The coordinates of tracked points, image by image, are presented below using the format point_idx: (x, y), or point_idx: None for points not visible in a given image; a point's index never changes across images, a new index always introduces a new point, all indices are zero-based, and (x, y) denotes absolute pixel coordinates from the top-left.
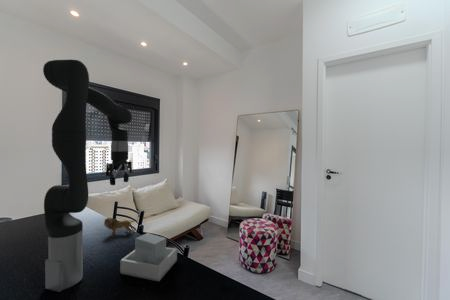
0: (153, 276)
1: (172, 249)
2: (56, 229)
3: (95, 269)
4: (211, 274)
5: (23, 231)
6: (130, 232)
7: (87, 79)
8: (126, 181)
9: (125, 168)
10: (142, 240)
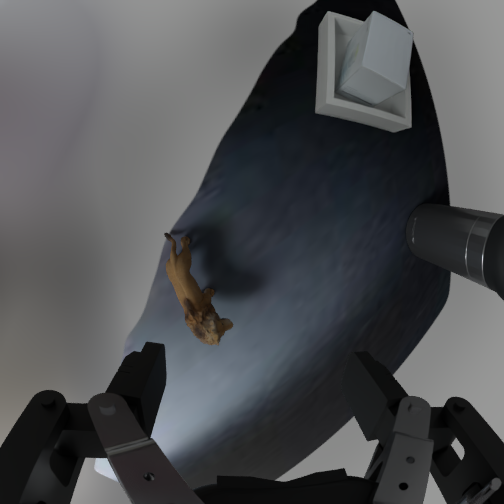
0: None
1: (334, 19)
2: None
3: (391, 200)
4: None
5: None
6: (187, 238)
7: None
8: (163, 353)
9: (197, 499)
10: (409, 65)
